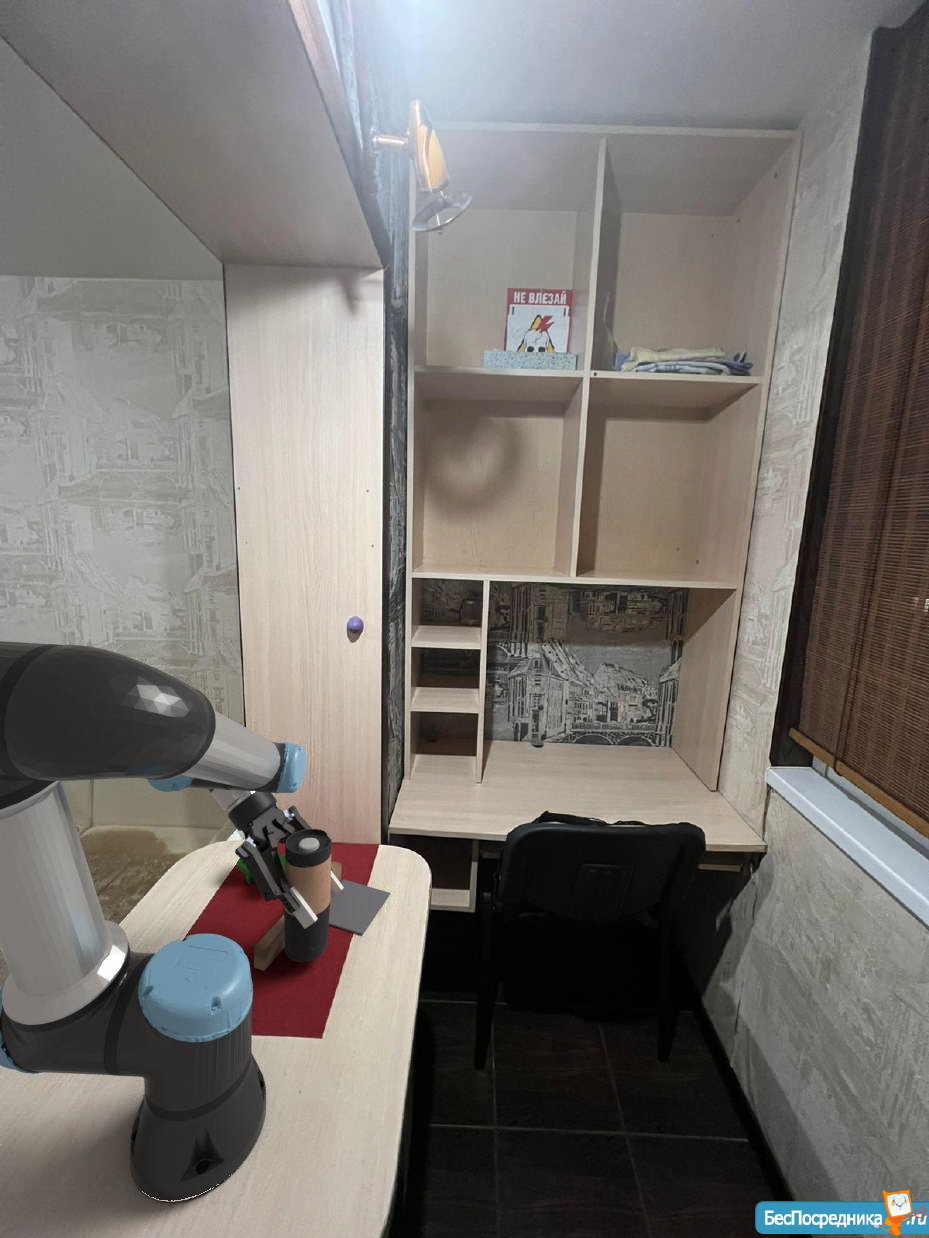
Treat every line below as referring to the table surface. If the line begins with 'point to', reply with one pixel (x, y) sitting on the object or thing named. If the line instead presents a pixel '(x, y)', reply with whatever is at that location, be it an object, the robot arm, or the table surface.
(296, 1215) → the table surface
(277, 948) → the rail
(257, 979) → the table surface
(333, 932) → the table surface
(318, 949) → the travel mug
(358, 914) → the end mat
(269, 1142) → the table surface
